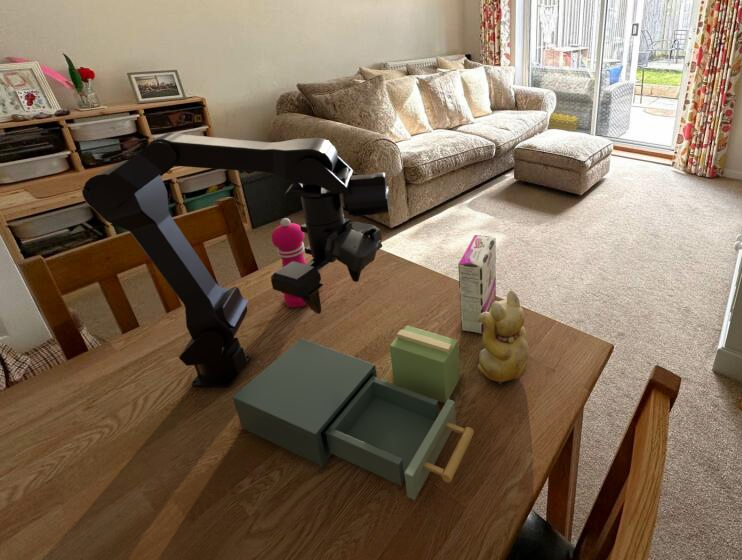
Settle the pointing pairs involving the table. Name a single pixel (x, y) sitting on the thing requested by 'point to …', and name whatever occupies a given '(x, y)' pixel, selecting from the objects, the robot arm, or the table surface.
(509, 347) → the decorative figurine
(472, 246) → the candy bar box
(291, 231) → the pepper mill
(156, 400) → the table surface
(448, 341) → the snack bag
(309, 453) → the cabinet
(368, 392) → the drawer
